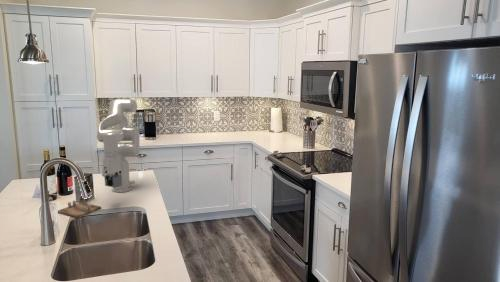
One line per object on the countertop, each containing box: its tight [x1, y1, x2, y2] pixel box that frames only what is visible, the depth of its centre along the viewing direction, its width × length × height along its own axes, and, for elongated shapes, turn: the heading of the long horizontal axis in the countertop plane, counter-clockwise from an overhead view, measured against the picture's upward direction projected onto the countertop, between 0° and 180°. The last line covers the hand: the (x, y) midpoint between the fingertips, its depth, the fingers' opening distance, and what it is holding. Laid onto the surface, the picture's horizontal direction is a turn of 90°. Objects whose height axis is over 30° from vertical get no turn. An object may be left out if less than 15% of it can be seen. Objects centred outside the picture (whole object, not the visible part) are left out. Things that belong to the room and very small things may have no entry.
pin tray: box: [57, 200, 102, 219], centre depth 205 cm, size 16×16×4 cm
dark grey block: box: [104, 173, 122, 188], centre depth 210 cm, size 5×8×6 cm, turn 64°
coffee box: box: [73, 172, 95, 204], centre depth 220 cm, size 9×6×16 cm
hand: (113, 183), depth 211 cm, fingers closed on dark grey block, 5 cm apart
